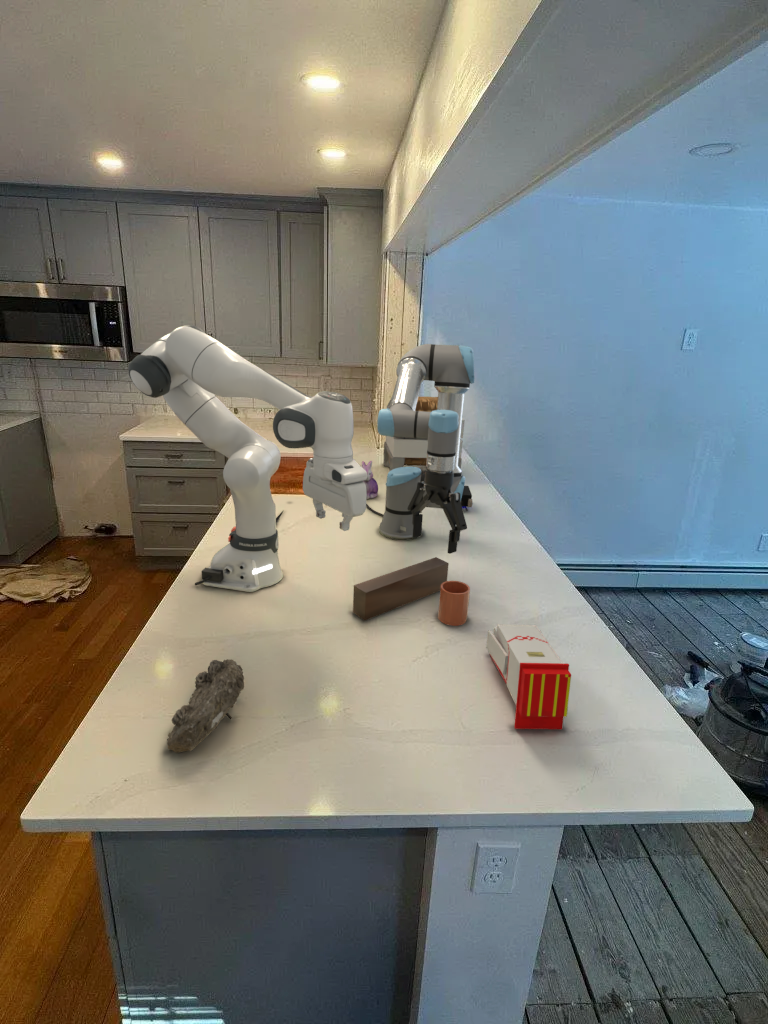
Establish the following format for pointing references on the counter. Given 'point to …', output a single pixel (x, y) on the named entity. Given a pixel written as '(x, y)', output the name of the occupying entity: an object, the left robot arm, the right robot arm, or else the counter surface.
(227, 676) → the fossil
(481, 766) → the counter surface
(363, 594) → the walnut bar
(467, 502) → the figurine character
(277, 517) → the feather
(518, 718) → the toy
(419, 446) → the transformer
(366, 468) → the figurine
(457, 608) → the terracotta cup
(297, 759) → the counter surface
